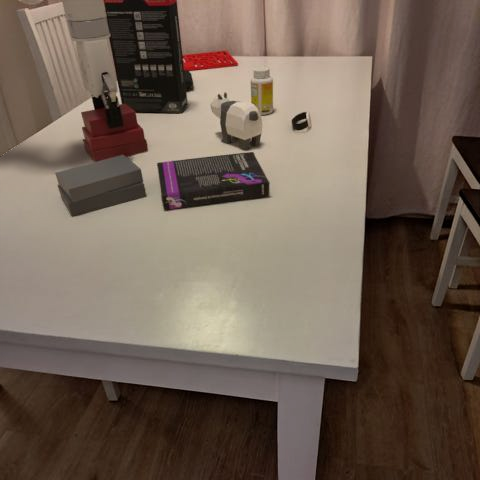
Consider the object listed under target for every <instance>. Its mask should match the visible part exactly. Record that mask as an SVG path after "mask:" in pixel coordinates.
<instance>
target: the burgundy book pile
mask: <svg viewBox="0 0 480 480" xmlns="http://www.w3.org/2000/svg"><path fill="white" fill-rule="evenodd" d="M81 130H82V134H83V139H82V143H83V146H84V150H85V152H86V153H87V154H88V155H89V157H90V158H91V159H92V161H93V163H94V162H97V161H101V160H105V159H109V158H112V157H116V156H120V155H125V156H126V157H128V156H133V155H138V154H142V153H146V152H149V147H148V142H147V139H146V138H145V132H144V128H143V127H142V126H141V125H140V124H139V123H138V128H135V129H130V130H126V131H121V132H117V133H112V134H107V135H103V136H98V137H93V136H92V135H91V134H90V133H89V132H88V131H87V130H86V128H85V126H81Z"/></svg>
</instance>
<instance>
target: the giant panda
mask: <svg viewBox="0 0 480 480" xmlns="http://www.w3.org/2000/svg"><path fill="white" fill-rule="evenodd" d="M209 105H210V106H209V107H210V109H211V113H212V114H213V115H214V116H215V117H216V118H218V119H219V120H220V122H219V124H220V130H221V136H222V137H221V140H220V141H221V143H224V144H231V143H232V142H233V140H232V138H233V139H235V140H236V139H237V140H239V141H240V144H239V146H238V148H239V149H241V150H244V151H247V150H249V149H250V148H251V147H250V145H251V146H255V147H257V146H259V145H261V137H262V132H263V118H262V115H261V114H260V112H259V110H258V109H257V107H256V106H255V105H254V104H251V102H249V101H237V100H230V99H229V98H228V93H227V92H226V91H224V93H223V95H221V94H220V93H218V94H217V96H216V97H214V98H213V101H212V102H210V104H209Z"/></svg>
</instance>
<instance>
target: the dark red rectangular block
mask: <svg viewBox="0 0 480 480" xmlns="http://www.w3.org/2000/svg"><path fill="white" fill-rule="evenodd" d="M119 104H120V103H119ZM120 109H121V114H122V119H123V124H124V125H123V126H122V127H118V128H113V129H110V128H109V127H108V124H107V120H106V115H105V111H104V108H100V109H90V110H85V111H81V112H80V114H81V118H82V122H83V127H85V128H86V130H87V131H88V132H89V133H90V134H91V135H92V136H93V137H98V136H103V135H107V134H112V133H117V132H121V131H126V130H130V129H135V128H138V124H139V123H138V119H137V113H136V111H134V110H133V109H131V108H130V107H129V106H128V105H127V104H122V103H121V104H120Z"/></svg>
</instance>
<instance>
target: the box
mask: <svg viewBox="0 0 480 480" xmlns="http://www.w3.org/2000/svg"><path fill="white" fill-rule="evenodd" d="M156 166H157V173H158V180H159V186H160V188H159V189H160V198H161V203H162V208H163V210H164V211H167V210H168V211H169V210H175V209H182V208H189V207H196V206H204V205H213V204H220V203H227V202H235V201H241V200H250V199H257V198H263V197H269V196H270V183H271V181H270V180H269V179H268V177H267V176H266V173H265V172H264V169H263V168H262V166H261V164H260V162H259V161H258V159H257V157H256V155H255V152H254V151H248V152H239V153H230V154H220V155H212V156H202V157H194V158H186V159H185V158H184V159H179V160H178V159H177V160H168V161H160V162H157V163H156Z"/></svg>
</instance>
